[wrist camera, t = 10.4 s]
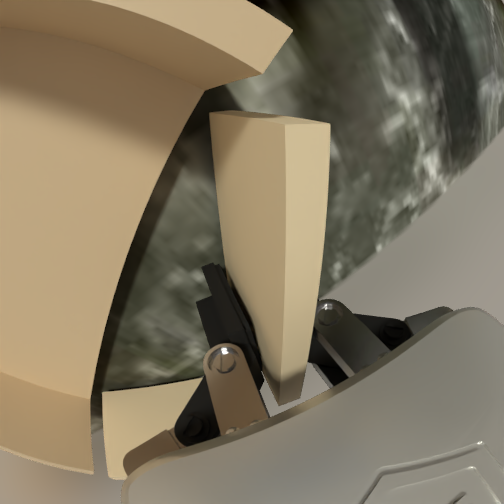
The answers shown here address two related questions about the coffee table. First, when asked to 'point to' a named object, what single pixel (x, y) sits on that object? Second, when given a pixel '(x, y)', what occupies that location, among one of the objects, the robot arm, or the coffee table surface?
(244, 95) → the coffee table surface
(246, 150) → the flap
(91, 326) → the carton
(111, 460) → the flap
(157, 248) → the coffee table surface
